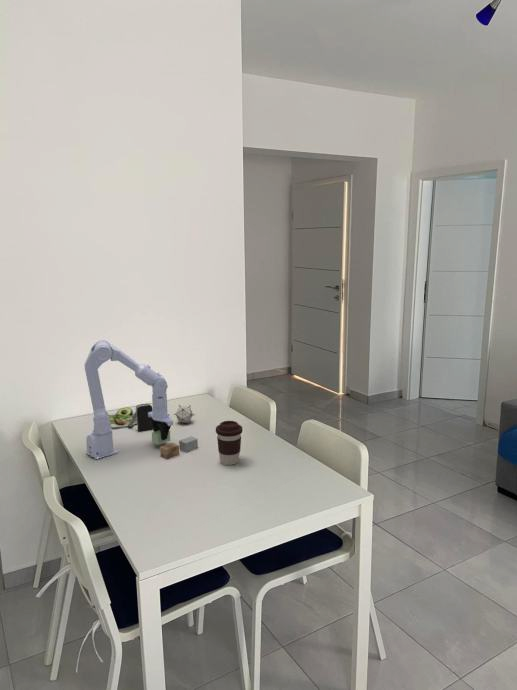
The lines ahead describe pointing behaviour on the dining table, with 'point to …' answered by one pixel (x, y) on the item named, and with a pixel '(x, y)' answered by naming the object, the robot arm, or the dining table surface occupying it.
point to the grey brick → (188, 444)
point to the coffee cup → (229, 442)
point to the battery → (143, 417)
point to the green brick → (159, 437)
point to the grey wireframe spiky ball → (184, 414)
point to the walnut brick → (169, 450)
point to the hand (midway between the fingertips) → (161, 437)
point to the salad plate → (123, 418)
